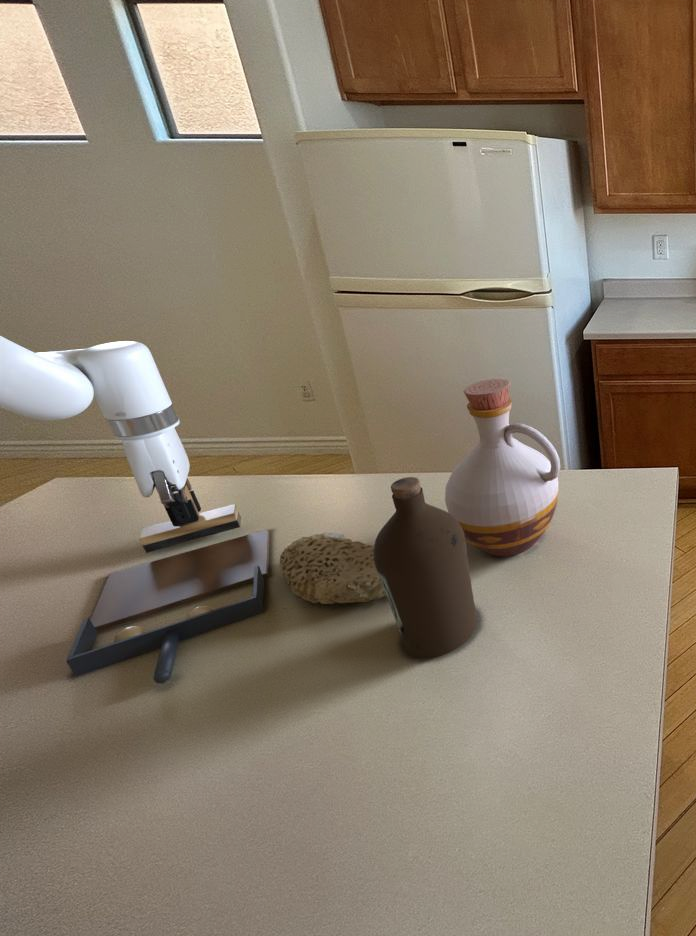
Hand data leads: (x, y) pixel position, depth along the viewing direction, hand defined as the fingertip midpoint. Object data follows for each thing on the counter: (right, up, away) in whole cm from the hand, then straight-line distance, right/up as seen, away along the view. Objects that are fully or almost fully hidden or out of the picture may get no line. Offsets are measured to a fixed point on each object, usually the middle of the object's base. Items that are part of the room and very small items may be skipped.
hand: (187, 517), depth 93 cm
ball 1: (+10, -12, -19) cm, 25 cm away
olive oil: (+51, -13, -15) cm, 54 cm away
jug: (+54, -5, +4) cm, 55 cm away
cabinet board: (+6, -9, -6) cm, 12 cm away
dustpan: (+15, -14, -17) cm, 27 cm away
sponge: (+31, -9, -6) cm, 33 cm away
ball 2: (+16, -11, -15) cm, 25 cm away
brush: (0, -3, +1) cm, 4 cm away
